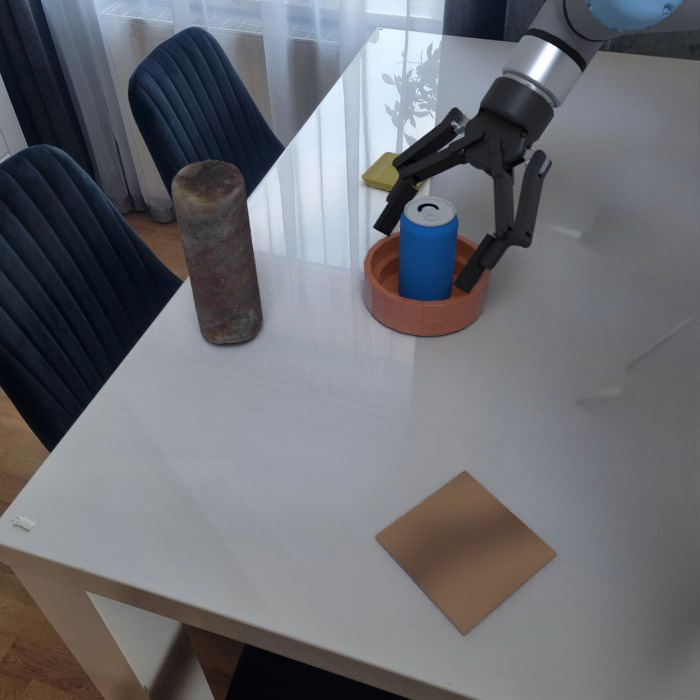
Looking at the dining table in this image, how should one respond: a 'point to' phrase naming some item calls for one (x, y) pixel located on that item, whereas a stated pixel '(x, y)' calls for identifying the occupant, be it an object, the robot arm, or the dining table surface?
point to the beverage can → (427, 249)
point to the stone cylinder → (218, 250)
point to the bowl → (414, 313)
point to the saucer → (383, 173)
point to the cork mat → (465, 551)
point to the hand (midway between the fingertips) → (418, 259)
